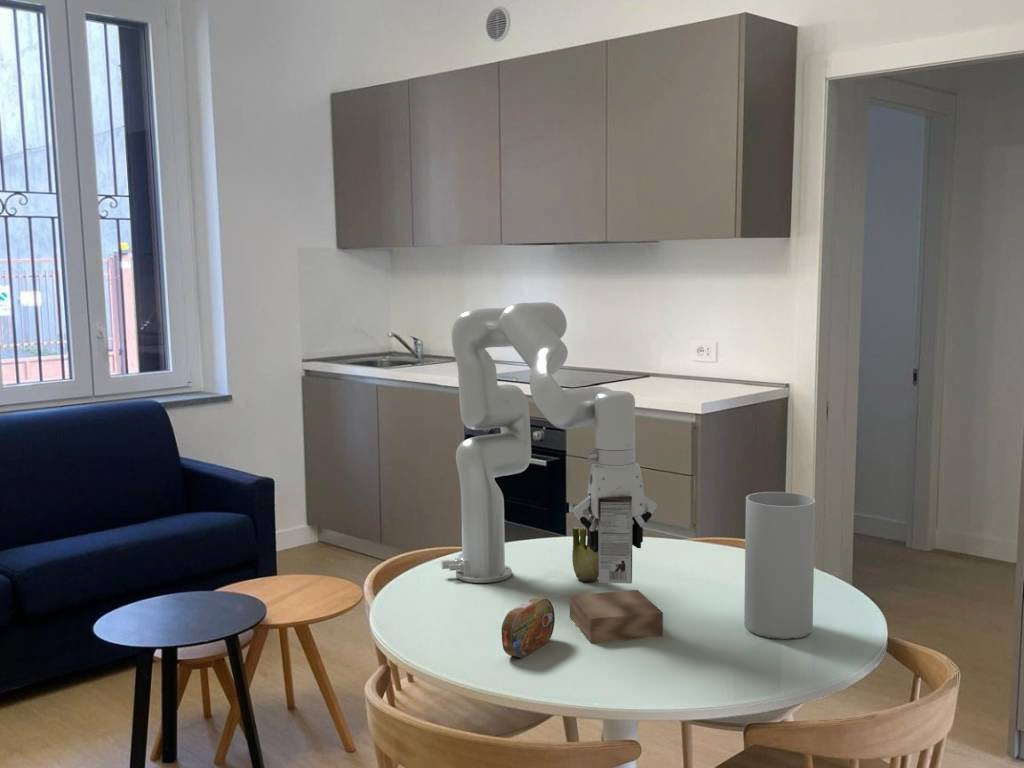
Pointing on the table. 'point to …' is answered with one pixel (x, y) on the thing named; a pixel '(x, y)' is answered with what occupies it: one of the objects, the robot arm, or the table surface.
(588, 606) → the walnut block
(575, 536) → the fennel bulb
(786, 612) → the cylinder vase
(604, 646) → the table surface
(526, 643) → the tin
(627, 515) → the coffee box
